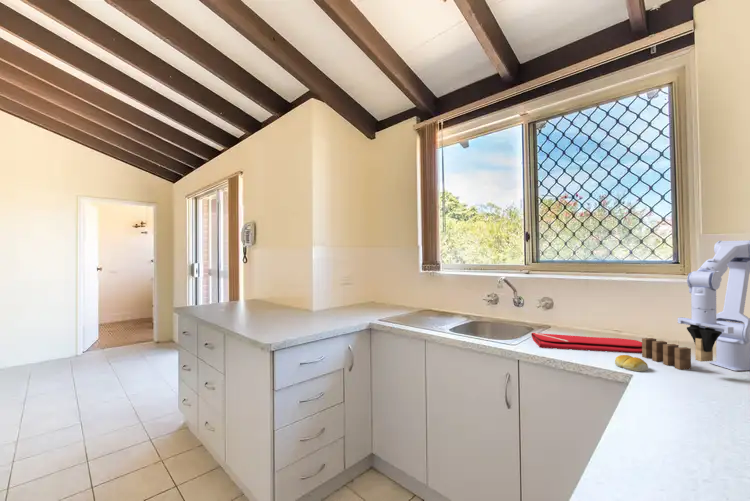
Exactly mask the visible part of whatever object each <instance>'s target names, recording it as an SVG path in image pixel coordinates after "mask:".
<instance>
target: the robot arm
mask: <svg viewBox="0 0 750 501" xmlns="http://www.w3.org/2000/svg"><path fill="white" fill-rule="evenodd" d="M713 252H714V256H713V257H712V258H708V259H706V260H705V261H704V262H703V263H702V265H701V266H700V267H699V268H698V269H697V270H693V271H691V272H689V273H688V275H687V279H686V284H687V287H688V292H689V294H691V295H690V297H691V298H690V300H691V301H690V303H691V304H690V307H691V315H690V316H691V317H690V318H689V317H677V324H681V325H682V324H683V325H687V327H686V330H687V331H688V333H689V335H690V336H691V338H692V340H693V343H694V344H695V338H702V340H703V349H704V351H705V352H712V348H713V349H714V346H715V347H716V348H715V349H716V350H715V353H716V354H715V355H716V360H713V361H708V363H709V364H710V365H715V366H718V367H721V368H723V369H724V368H725V369H728V370H730V371H731V370H732V371H735V372H738V371H739V372H740V371H750V317H748V316H747V315H746V314H744V313H745V307H746V306H745V305H746V298H747V291H748V286H749V278H750V240H749V239H748V240H718V241H717V242H715V243H714V247H713ZM728 269H729V272H728V277H727V284H726V289H725V290H726V291H725V297H724V303H723V309H722V311H719V312H718V313H717V290H718V289H720V286H721V282H722V277H723V276H724V274H726V272H727V271H728ZM715 344H716V345H715Z"/></svg>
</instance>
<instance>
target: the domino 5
mask: <svg viewBox="0 0 750 501" xmlns="http://www.w3.org/2000/svg"><path fill="white" fill-rule="evenodd" d="M694 345H695V346H694V348H695V354H694V355H695V361H698V362H712V361H714V347H713V348H712V352H705V351H704V349H703V340H702V338H695V343H694Z"/></svg>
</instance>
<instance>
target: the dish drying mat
mask: <svg viewBox="0 0 750 501" xmlns="http://www.w3.org/2000/svg"><path fill="white" fill-rule="evenodd" d="M530 335H531V338H532V341H533V342H534V343H535V344H536V345H537V346H538V347H539V348H540V349H553V348H557V350H569V349H572V350H573V351H575V350H576V351H588V350H590V351H591V352H592V351H593V352H605V351H607V353H625V354H629V353H630V354H642V341H639V340H636V339H630V338H619V337H618V338H617V337H601V336H600V337H597V336H585V335H584V336H582V335H569V334H557V333H556V334H555V333H540V332H531V333H530Z"/></svg>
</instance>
